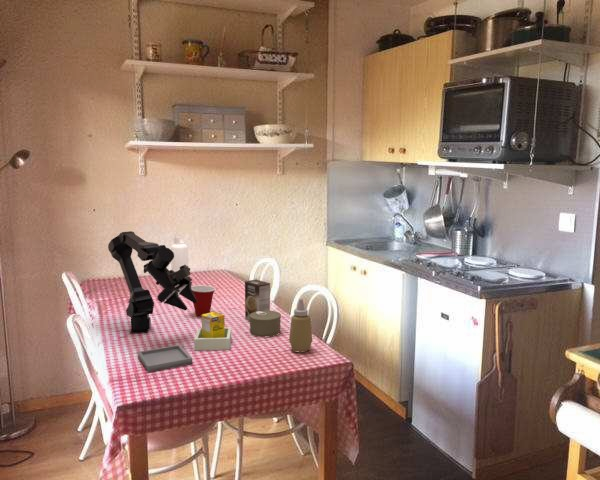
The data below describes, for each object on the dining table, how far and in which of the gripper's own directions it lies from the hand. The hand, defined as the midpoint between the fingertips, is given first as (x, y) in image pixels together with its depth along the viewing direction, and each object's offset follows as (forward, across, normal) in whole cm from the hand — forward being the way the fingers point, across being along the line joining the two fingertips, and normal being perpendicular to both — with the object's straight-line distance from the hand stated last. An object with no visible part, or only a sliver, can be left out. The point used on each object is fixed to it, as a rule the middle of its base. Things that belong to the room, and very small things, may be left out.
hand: (191, 305), depth 185 cm
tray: (+8, -18, +11) cm, 23 cm away
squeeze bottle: (+38, 0, -18) cm, 42 cm away
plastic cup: (+4, +33, +16) cm, 36 cm away
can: (+26, +16, -6) cm, 31 cm away
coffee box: (+21, +30, -2) cm, 37 cm away
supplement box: (+16, 0, +4) cm, 16 cm away
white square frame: (+15, 0, +4) cm, 16 cm away
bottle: (-13, +66, +33) cm, 74 cm away
